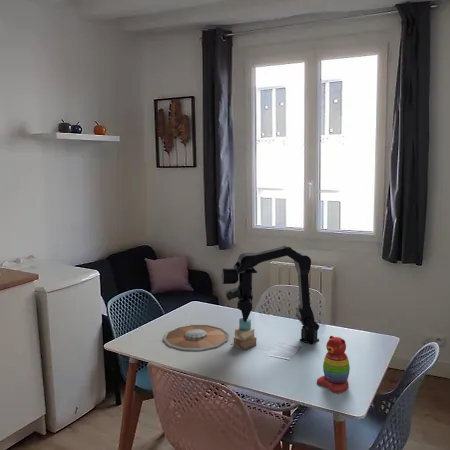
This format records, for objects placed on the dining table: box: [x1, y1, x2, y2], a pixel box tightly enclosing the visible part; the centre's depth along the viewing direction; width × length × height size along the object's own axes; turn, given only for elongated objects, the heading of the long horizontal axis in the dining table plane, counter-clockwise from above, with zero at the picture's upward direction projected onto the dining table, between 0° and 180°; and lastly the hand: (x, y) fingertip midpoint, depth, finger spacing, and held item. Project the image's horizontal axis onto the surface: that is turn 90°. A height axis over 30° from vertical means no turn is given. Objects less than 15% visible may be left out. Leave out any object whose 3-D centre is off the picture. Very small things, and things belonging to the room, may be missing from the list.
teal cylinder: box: [238, 317, 252, 331], centre depth 207 cm, size 5×5×4 cm
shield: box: [162, 324, 229, 352], centre depth 217 cm, size 30×3×30 cm
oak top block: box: [234, 327, 255, 342], centre depth 207 cm, size 6×6×4 cm
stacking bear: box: [316, 335, 351, 394], centre depth 172 cm, size 11×10×18 cm
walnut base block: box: [233, 336, 257, 351], centre depth 208 cm, size 7×7×4 cm
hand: (245, 318), depth 206 cm, fingers open, 9 cm apart
